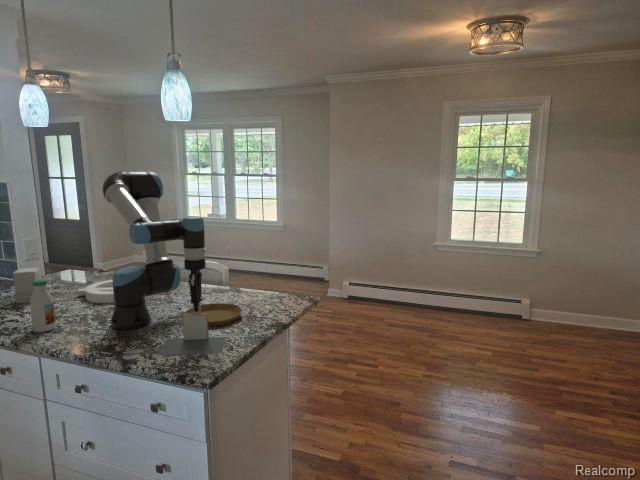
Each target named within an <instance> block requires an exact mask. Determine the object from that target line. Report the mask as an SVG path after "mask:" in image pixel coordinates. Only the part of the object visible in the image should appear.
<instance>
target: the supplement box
mask: <svg viewBox="0 0 640 480" xmlns="http://www.w3.org/2000/svg"><path fill="white" fill-rule="evenodd" d="M41 274H42V273H41V267H31V268H30V267H28V268H18V269H17V270H15V271H14V272H12V278H13V279H12V280H13V287H14V294H15V295H14V296H15V302H16V304H24V303H30V300H31V297H32V294H33V291H34V287H33V281H35V280H42V277H41V276H42V275H41Z"/></svg>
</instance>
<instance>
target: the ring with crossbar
mask: <svg viewBox="0 0 640 480" xmlns="http://www.w3.org/2000/svg"><path fill="white" fill-rule="evenodd" d="M112 283H113V279H108V280H102V281H99V282H94V283H91V284H89V285H88V286H87V287H85V288H78V290H77V291H76V293H77V294H76V295H77V296H85V299H86V301H87V302H91V303H94V304H95V303H97V304H112V303H114V292H113V285H112Z"/></svg>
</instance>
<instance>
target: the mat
mask: <svg viewBox="0 0 640 480" xmlns="http://www.w3.org/2000/svg"><path fill="white" fill-rule="evenodd" d="M226 339H227V336H218V337H217V336H216V337H213V336H212V337H209V339H207V340H184V337H183V338H182V337H180V338H177V337H176V338H166V340H165V341H164V342H163V344H162V346H161V347H160V349H159V350H158V352H157V354H156V356H174V355H175V356H177V355H178V356H179V355H207V354H209V355H211V354H222V352H223V349H224V347H225V344H226Z"/></svg>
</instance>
